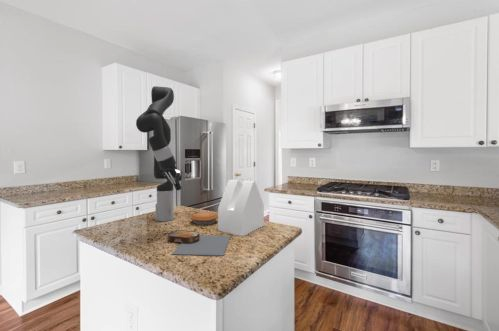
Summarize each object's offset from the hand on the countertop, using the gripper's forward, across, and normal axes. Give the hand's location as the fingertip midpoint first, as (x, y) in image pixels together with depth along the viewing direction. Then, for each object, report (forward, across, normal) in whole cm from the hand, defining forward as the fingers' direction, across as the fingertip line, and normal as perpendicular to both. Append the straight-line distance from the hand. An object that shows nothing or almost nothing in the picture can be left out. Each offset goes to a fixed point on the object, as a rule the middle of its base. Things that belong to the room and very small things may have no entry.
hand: (179, 189), depth 118 cm
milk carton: (+31, -18, -12) cm, 38 cm away
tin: (+15, -9, +17) cm, 25 cm away
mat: (+19, -19, +13) cm, 30 cm away
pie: (+28, +5, -10) cm, 30 cm away
